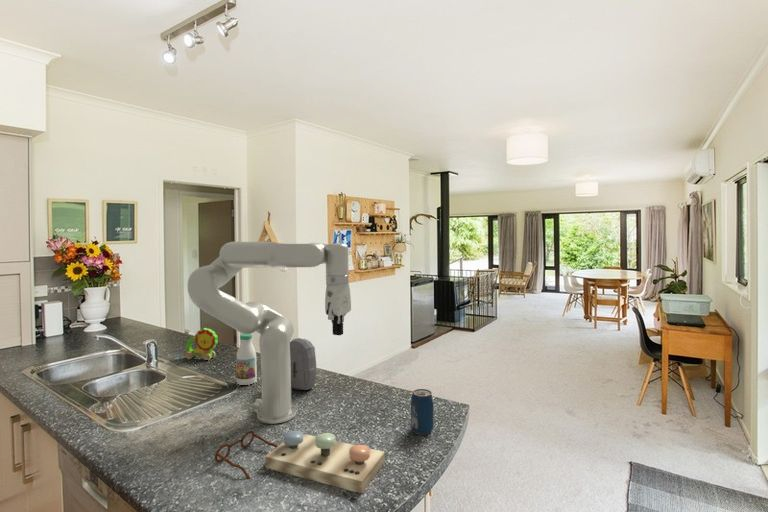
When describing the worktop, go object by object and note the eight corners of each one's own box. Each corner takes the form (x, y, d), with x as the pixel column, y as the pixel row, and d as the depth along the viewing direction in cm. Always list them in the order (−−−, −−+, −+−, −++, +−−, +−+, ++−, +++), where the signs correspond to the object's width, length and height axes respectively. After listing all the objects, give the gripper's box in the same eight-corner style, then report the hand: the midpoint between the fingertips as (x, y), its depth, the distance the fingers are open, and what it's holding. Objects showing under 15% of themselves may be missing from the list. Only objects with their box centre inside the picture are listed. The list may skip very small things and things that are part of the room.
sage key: (311, 446, 105) (311, 440, 105) (321, 437, 110) (321, 431, 110) (329, 450, 103) (328, 444, 103) (338, 440, 108) (338, 435, 108)
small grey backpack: (320, 389, 159) (319, 338, 158) (305, 396, 152) (304, 343, 151) (292, 381, 167) (291, 333, 166) (277, 388, 160) (276, 338, 159)
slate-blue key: (279, 443, 109) (279, 437, 109) (291, 434, 114) (291, 429, 114) (296, 447, 107) (295, 441, 107) (306, 438, 112) (306, 432, 112)
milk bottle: (239, 379, 169) (238, 332, 168) (258, 379, 170) (257, 332, 169) (234, 386, 162) (233, 337, 160) (254, 386, 162) (253, 336, 161)
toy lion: (184, 359, 196) (183, 328, 195) (191, 356, 201) (190, 326, 201) (213, 361, 193) (213, 330, 192) (220, 358, 198) (219, 327, 198)
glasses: (252, 444, 118) (252, 427, 118) (285, 456, 112) (285, 438, 112) (213, 466, 107) (213, 447, 107) (248, 481, 101) (248, 461, 100)
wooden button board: (265, 467, 106) (264, 451, 105) (296, 442, 119) (296, 427, 118) (362, 493, 95) (362, 476, 95) (384, 462, 108) (384, 447, 108)
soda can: (435, 426, 128) (435, 389, 127) (430, 437, 122) (430, 398, 121) (414, 423, 130) (414, 387, 130) (408, 433, 124) (408, 395, 123)
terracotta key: (345, 459, 101) (345, 452, 101) (355, 448, 106) (355, 443, 106) (364, 463, 99) (364, 457, 99) (373, 453, 104) (373, 447, 104)
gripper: (335, 283, 127) (336, 341, 128) (357, 278, 141) (357, 330, 142) (315, 282, 130) (316, 338, 131) (338, 277, 144) (339, 328, 145)
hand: (337, 334), depth 136 cm, fingers closed
